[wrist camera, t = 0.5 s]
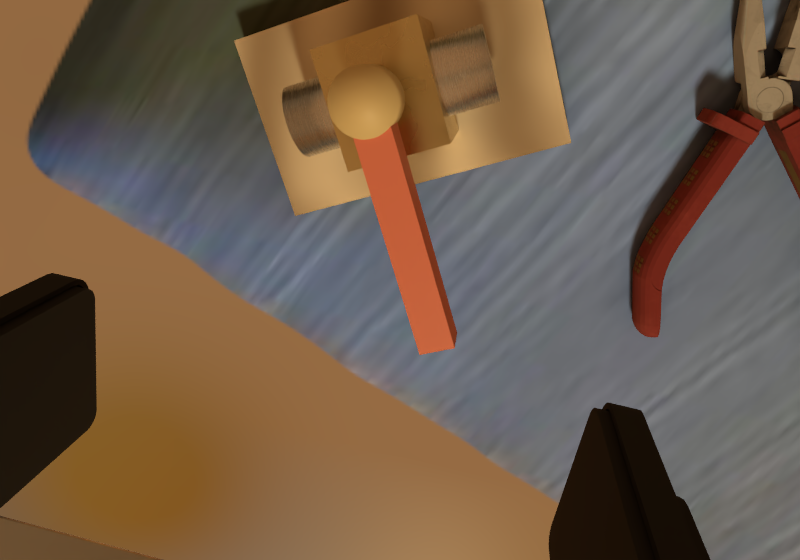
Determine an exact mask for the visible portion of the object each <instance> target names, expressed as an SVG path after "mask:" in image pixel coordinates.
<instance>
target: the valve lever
mask: <svg viewBox="0 0 800 560" xmlns="http://www.w3.org/2000/svg"><path fill="white" fill-rule="evenodd" d="M327 104H328V110H329V114H330V116H331V118H332V120H333V122H334V124H335V125H336V126H337V127H338V129H339V130H341V131H342V132H343V133H344V134H346V135H348V136H350V137H352V138H353V139H354V143H355V146H356V149H357V152H358V156H359V159H360V162H361V165H362V169H363V172H364V175H365V178H366V182H367V185H368V188H369V191H370V195H371V198H372V201H373V204H374V208H375V211H376V214H377V217H378V221H379V224H380V227H381V230H382V234H383V237H384V240H385V243H386V247H387V250H388V253H389V256H390V260H391V263H392V266H393V269H394V273H395V276H396V279H397V282H398V286H399V289H400V292H401V295H402V299H403V302H404V305H405V308H406V312H407V315H408V318H409V321H410V325H411V328H412V331H413V334H414V338H415V341H416V344H417V347H418V351H419V354H420V355H421V354H427V353H432V352H437V351H442V350H447V349H452V348H455V342H456V336H457V331H456V327H455V324H454V320H453V317H452V313H451V310H450V306H449V303H448V299H447V296H446V292H445V288H444V285H443V281H442V278H441V274H440V271H439V267H438V264H437V260H436V257H435V253H434V250H433V246H432V243H431V239H430V236H429V232H428V229H427V225H426V222H425V218H424V215H423V211H422V207H421V204H420V200H419V197H418V193H417V190H416V186H415V183H414V179H413V176H412V172H411V169H410V165H409V162H408V158H407V155H406V151H405V148H404V144H403V141H402V137H401V134H400V130H399V126H398V123H397V122H398V121H399V119H400V118H401V116H402V113H403V110H404V106H405V94H404V90H403V87H402V85H401V83H400V81H399V79H398V78H397V77H396V75H395V74H394V73H393V72H391V71H390V70H389V69H387V68H385V67H383V66H380V65H375V64H363V65H354V66H351V67H348V68H346V69H344V70H343V71H341V72H340V73H339V74H338V75H337V76H336V77H335V79H334V80H333V82H332V84H331V86H330V88H329V92H328V98H327Z"/></svg>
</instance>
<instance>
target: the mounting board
mask: <svg viewBox="0 0 800 560" xmlns="http://www.w3.org/2000/svg"><path fill="white" fill-rule="evenodd" d="M415 14H418V15H420V16H422V17H424V18H426V19H428V20H429V21H431V22H432V26H433V30H434V34H435V38H439V37H442V36H445V35H448V34H451V33H454V32H457V31H460V30H463V29H467V28H470V27H473V26H476V25H479V24H482V23H483V27H484V31H485V35H486V39H487V43H488V47H489V51H490V56H491V60H492V64H493V68H494V73H495V77H496V82H497V86H498V91H499V96H500V102H497V103H494V104H490V105H487V106H483V107H480V108H476V109H473V110H469V111H466V112H462V113H459V114H456V115H455V116H456V120H457V124H458V128H459V131H458V132H457V134H456V136H455V137H454V139H453V141H452V142H451V144H448V145H444V146H440V147H437V148H433V149H430V150H426V151H422V152H419V153H415V154H412V155H408V156H407V158H408V162H409V165H410V169H411V172H412V176H413V179H414V183H415V184H417V183H421V182H425V181H428V180H432V179H436V178H440V177H444V176H447V175H451V174H455V173H459V172H462V171H466V170H470V169H474V168H478V167H481V166H485V165H489V164H493V163H496V162H500V161H504V160H508V159H511V158H515V157H519V156H523V155H527V154H530V153H534V152H538V151H542V150H545V149H549V148H553V147H557V146H560V145H564V144H568V143H571V140H570V135H569V130H568V125H567V120H566V115H565V110H564V105H563V100H562V95H561V90H560V85H559V80H558V75H557V70H556V65H555V60H554V55H553V50H552V45H551V41H550V36H549V31H548V26H547V21H546V16H545V11H544V6H543V1H542V0H349V1H346V2H343V3H340V4H338V5H335V6H332V7H329V8H326V9H323V10H321V11H318V12H315V13H312V14H309V15H306V16H303V17H301V18H298V19H295V20H292V21H289V22H286V23H284V24H281V25H278V26H275V27H272V28H269V29H266V30H264V31H261V32H258V33H255V34H252V35H249V36H247V37H244V38H241V39H238V40H235V41H234V42H235V45H236V47H237V50H238V53H239V56H240V59H241V62H242V65H243V67H244V70H245V73H246V76H247V79H248V82H249V85H250V87H251V90H252V93H253V96H254V99H255V102H256V105H257V107H258V110H259V113H260V116H261V119H262V122H263V125H264V128H265V130H266V133H267V136H268V139H269V142H270V145H271V148H272V150H273V153H274V156H275V159H276V162H277V165H278V168H279V170H280V173H281V176H282V179H283V182H284V185H285V188H286V191H287V193H288V196H289V199H290V202H291V205H292V208H293V211H294V213H295V216H296V215H300V214H304V213H308V212H312V211H315V210H319V209H323V208H327V207H330V206H334V205H338V204H342V203H345V202H349V201H353V200H357V199H361V198H364V197H368V196H371V195H370V191H369V188H368V185H367V182H366V178H365V175H364V172H363V169H362V168H361V169H358V170H354V171H350V172H348V171H347V168H346V164H345V161H344V158H343V155H342V152H341V149H340V148H338V149H335V150H331V151H328V152H324V153H321V154H317V155H314V156H310V157H307V156H305V155H303V154H302V153H301V152H300V150H299V149H298V148H297V146H296V144H295V143H294V141H293V139H292V137H291V135H290V132H289V130H288V127H287V124H286V121H285V117H284V113H283V107H282V92H283V89H284V88H285V87H287V86H290V85H293V84H296V83H299V82H302V81H306V80H309V79H312V78H315V77H318V76H317V73H316V69H315V66H314V63H313V60H312V57H311V54H310V50H311V49H314V48H317V47H320V46H323V45H326V44H329V43H332V42H335V41H338V40H341V39H344V38H347V37H349V36H352V35H355V34H358V33H361V32H364V31H367V30H370V29H373V28H376V27H379V26H382V25H385V24H388V23H391V22H394V21H397V20H400V19H403V18H406V17H409V16H412V15H415Z"/></svg>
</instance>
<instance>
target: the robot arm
mask: <svg viewBox="0 0 800 560" xmlns="http://www.w3.org/2000/svg"><path fill="white" fill-rule="evenodd" d="M95 415H96V339H95V296H94V293H93V291H91V290H89V289H88V286H87V284H86V283H85V282H84V281H83V280H80V279H76V278H72V277H67V276H63V275H59V274H54V273H51V274H47V275H45V276H43V277H41V278H39V279H37V280H35V281H32V282H30V283H29V284H26V285H24V286H22V287H20V288H18V289H16V290H13V291H11V292H9V293H7V294H5V295H3V296H1V297H0V508H1V507H2V506H3V505H4V504H5V503H7V502H8V501H9V500H10V499H11V498H12V497H13V496H14V495H15V494H16V493H18V492H19V491H20V490H21V489H22V488H23V487H24V486H25V485H27V484H28V483H29V482H30V481H31V480H32V479H33V478H34V477H35V476H37V475H38V474H39V473H40V472H41V471H42V470H43V469H44V468H46V467H47V466H48V465H49V464H50V463H51V462H52V461H53V460H55V459H56V458H57V457H58V456H59V455H60V454H61V453H62V452H63V451H64V450H66V449H67V448H68V447H69V446H70V445H71V444H72V443H73V442H75V441H76V440H77V439H78V438H79V437H80V436H81V435H82V434H83V433H85V432H86V431H87V430H88V429H89V428H90V426H91V425H92V423H93V421H94V419H95ZM549 554H550V560H710V558H709V555H708V553H707V550H706V548H705V546H704V543H703V541H702V539H701V536H700V534H699V531H698V529H697V527H696V524H695V522H694V519H693V517H692V515H691V512H690V510H689V507H688V506H687V504H686V502H685V501H684V500H683V499H682V498H680V497H678V496H676V495H675V492H674V490H673V487H672V485H671V482H670V480H669V477H668V475H667V472H666V470H665V467H664V465H663V462H662V460H661V457H660V455H659V452H658V450H657V447H656V445H655V442H654V440H653V437H652V435H651V432H650V430H649V427H648V425H647V422H646V420H645V417H644V415H643V413H642V411H641V410H638V409H633V408H629V407H625V406H621V405H616V404H612V403H606V404H605V405H604V407H603V409H597V408H593V409H592V411H591V413H590V415H589V418H588V421H587V424H586V427H585V430H584V433H583V435H582V438H581V441H580V444H579V447H578V450H577V453H576V456H575V459H574V462H573V464H572V467H571V470H570V473H569V476H568V479H567V482H566V485H565V488H564V491H563V493H562V496H561V499H560V502H559V505H558V508H557V511H556V514H555V517H554V520H553V522H552V526H551V530H550V535H549ZM0 560H163V559H158V558H155V557H151V556H148V555H144V554H140V553H137V552H133V551H129V550H125V549H122V548H118V547H115V546H111V545H107V544H103V543H99V542H96V541H92V540H89V539H85V538H81V537H78V536H74V535H70V534H67V533H63V532H58V531H55V530H51V529H48V528H44V527H40V526H36V525H33V524H29V523H25V522H21V521H18V520H14V519H10V518H6V517H2V516H0Z"/></svg>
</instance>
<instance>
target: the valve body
mask: <svg viewBox="0 0 800 560" xmlns="http://www.w3.org/2000/svg"><path fill="white" fill-rule="evenodd" d="M310 54H311V57H312V60H313V63H314V66H315V69H316V73H317V76H318V77H315V78H312V79H309V80H306V81H302V82H299V83H296V84H293V85H290V86H287V87H285V88H284V89H283V92H282V107H283V113H284V117H285V121H286V124H287V127H288V130H289V132H290V135H291V137H292V139H293V141H294V143H295V144H296V146H297V148H298V149H299V150H300V152H301V153H302V154H303V155H305V156H307V157H310V156H314V155H317V154H321V153H324V152H328V151H331V150H335V149H338V148H340V149H341V152H342V155H343V158H344V161H345V164H346V168H347V171H348V172H350V171H354V170H358V169H361V168H362V165H361V162H360V159H359V156H358V152H357V149H356V146H355V143H354V139H353V138H352V137H350V136H348V135H346V134H344V133H343V132H342V131H341V130H339V129H338V127H337V126H336V125H335V124H334V122H333V120H332V118H331V116H330V114H329V110H328V104H327V98H328V92H329V88H330V86H331V84H332V82H333V80H334V79H335V77H336V76H337V75H338V74H339V73H340V72H341V71H343V70H344V69H346V68H348V67H351V66H354V65H363V64H375V65H380V66H383V67H385V68H387V69H389V70H390V71H391V72H393V73H394V74H395V75H396V77H397V78H398V79H399V81H400V83H401V85H402V87H403V90H404V94H405V106H404V110H403V113H402V116H401V118H400V119H399V121H398V122H397V123H398V126H399V130H400V134H401V137H402V141H403V144H404V148H405V151H406V155H407V156H408V155H412V154H415V153H419V152H422V151H426V150H430V149H433V148H437V147H440V146H444V145H448V144H451V142H452V141H453V139H454V137H455V136H456V134H457V132H458V131H459V128H458V124H457V120H456V116H455V115H456V114H459V113H462V112H466V111H469V110H473V109H476V108H480V107H483V106H487V105H490V104H494V103H497V102H500V96H499V91H498V86H497V82H496V77H495V73H494V68H493V64H492V60H491V56H490V51H489V47H488V43H487V39H486V35H485V31H484V27H483V23H482V24H479V25H476V26H473V27H470V28H467V29H463V30H460V31H457V32H454V33H451V34H448V35H445V36H442V37H439V38H435V34H434V30H433V26H432V22H431V21H429V20H428V19H426V18H424V17H422V16H420V15H418V14H415V15H412V16H409V17H406V18H403V19H400V20H397V21H394V22H391V23H388V24H385V25H382V26H379V27H376V28H373V29H370V30H367V31H364V32H361V33H358V34H355V35H352V36H349V37H347V38H344V39H341V40H338V41H335V42H332V43H329V44H326V45H323V46H320V47H317V48H314V49H311V50H310Z"/></svg>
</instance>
